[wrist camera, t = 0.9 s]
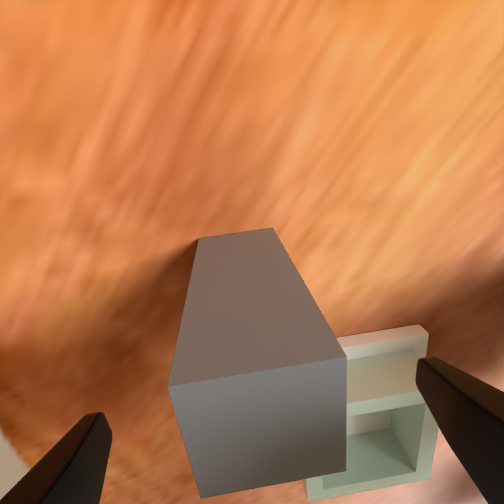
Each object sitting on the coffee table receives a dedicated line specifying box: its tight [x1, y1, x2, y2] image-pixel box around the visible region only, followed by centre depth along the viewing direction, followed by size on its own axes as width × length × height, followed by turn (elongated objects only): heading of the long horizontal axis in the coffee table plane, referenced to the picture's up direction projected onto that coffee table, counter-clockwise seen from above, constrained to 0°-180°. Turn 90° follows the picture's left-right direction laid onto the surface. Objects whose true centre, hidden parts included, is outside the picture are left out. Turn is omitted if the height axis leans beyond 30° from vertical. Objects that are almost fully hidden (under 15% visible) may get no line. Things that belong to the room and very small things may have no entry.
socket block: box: [302, 324, 439, 502], centre depth 19 cm, size 10×10×4 cm
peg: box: [167, 228, 347, 498], centre depth 12 cm, size 4×4×10 cm
